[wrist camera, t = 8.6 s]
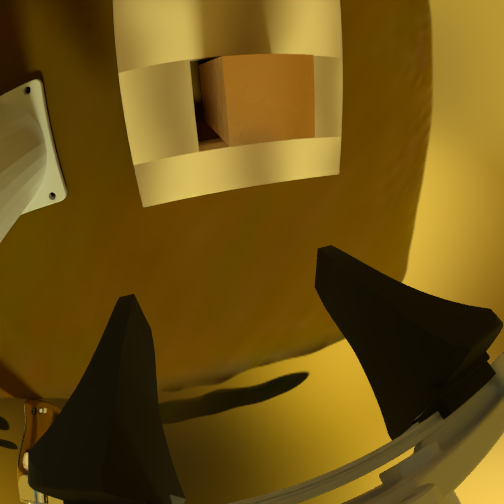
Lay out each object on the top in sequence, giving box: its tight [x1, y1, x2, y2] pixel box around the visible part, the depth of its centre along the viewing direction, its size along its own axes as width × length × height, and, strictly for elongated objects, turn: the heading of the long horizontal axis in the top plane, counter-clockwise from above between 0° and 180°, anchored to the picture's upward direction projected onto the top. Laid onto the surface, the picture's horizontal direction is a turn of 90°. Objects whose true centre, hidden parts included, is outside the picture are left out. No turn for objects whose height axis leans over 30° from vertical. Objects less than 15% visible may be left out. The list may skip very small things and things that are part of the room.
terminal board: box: [113, 0, 343, 208], centre depth 10 cm, size 12×18×6 cm, turn 3°
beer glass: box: [17, 399, 63, 504], centre depth 21 cm, size 7×7×15 cm
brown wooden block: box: [198, 54, 315, 147], centre depth 12 cm, size 4×4×7 cm
